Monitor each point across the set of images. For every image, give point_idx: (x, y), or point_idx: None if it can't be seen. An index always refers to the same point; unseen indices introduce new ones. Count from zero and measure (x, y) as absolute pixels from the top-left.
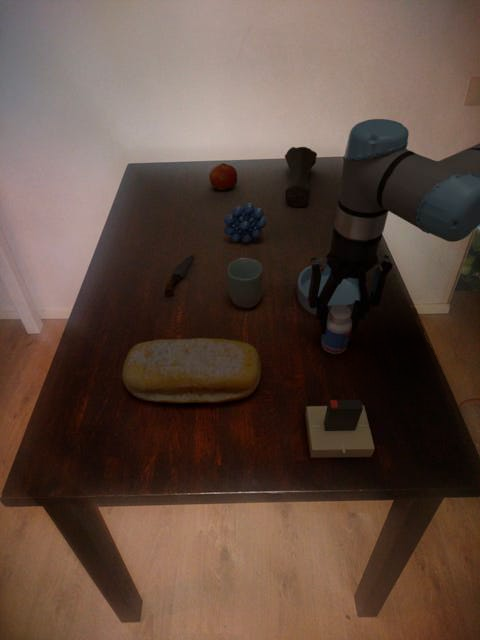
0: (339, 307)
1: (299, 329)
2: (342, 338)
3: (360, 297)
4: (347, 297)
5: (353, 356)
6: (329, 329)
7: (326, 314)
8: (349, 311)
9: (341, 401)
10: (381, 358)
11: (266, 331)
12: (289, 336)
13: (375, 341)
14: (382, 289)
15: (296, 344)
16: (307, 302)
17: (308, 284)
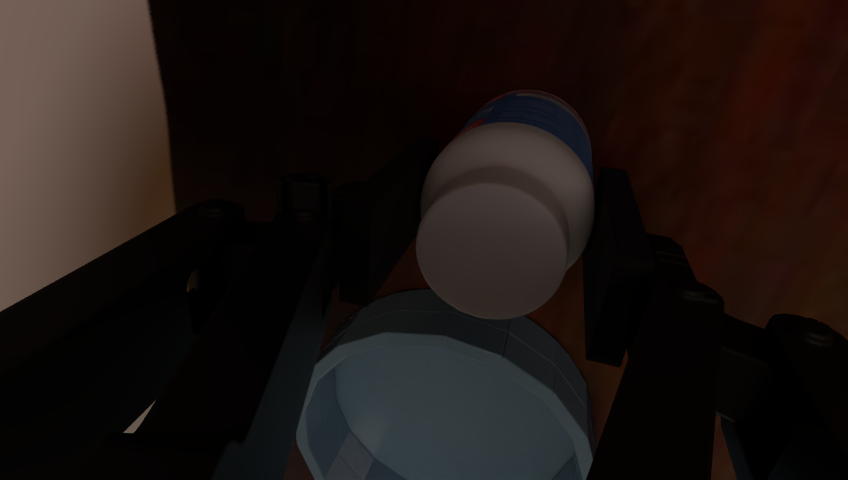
0: (484, 292)
1: None
2: (506, 112)
3: (312, 288)
4: (385, 376)
5: (454, 63)
6: (584, 167)
7: (630, 241)
8: (427, 241)
9: None
10: (332, 31)
11: (845, 306)
12: (731, 248)
13: (334, 135)
14: (47, 289)
15: (717, 191)
16: (577, 401)
17: (518, 478)
